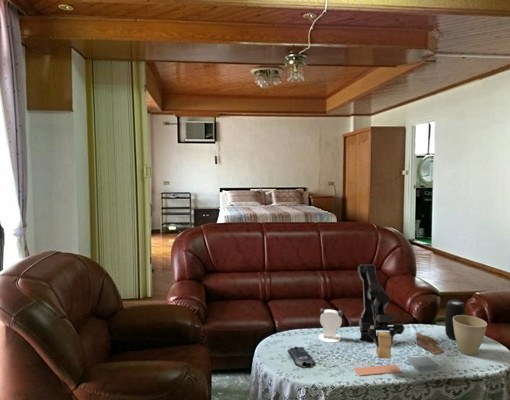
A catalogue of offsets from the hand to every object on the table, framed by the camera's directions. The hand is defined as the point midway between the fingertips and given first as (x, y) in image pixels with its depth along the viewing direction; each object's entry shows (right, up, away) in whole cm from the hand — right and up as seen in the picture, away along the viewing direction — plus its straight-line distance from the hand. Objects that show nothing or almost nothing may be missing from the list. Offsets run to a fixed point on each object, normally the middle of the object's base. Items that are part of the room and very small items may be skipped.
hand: (384, 347), depth 182 cm
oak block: (0, -4, +2) cm, 5 cm away
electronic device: (-35, -11, +13) cm, 39 cm away
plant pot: (+47, -10, +21) cm, 53 cm away
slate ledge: (+20, -11, +7) cm, 24 cm away
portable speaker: (+49, -8, +38) cm, 62 cm away
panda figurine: (-17, -8, +37) cm, 41 cm away
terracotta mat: (-2, -11, +3) cm, 12 cm away
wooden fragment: (+31, -9, +31) cm, 45 cm away
